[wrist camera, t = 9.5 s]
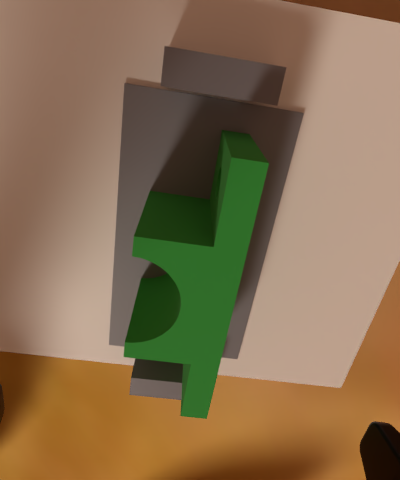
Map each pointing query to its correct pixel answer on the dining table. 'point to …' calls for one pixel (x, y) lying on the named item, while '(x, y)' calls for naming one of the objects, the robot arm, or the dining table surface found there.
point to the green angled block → (196, 269)
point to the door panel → (197, 173)
